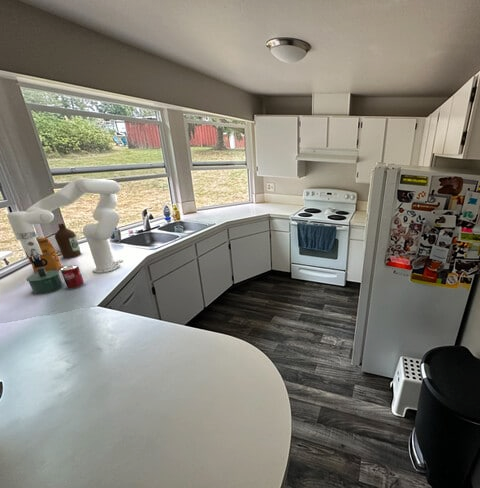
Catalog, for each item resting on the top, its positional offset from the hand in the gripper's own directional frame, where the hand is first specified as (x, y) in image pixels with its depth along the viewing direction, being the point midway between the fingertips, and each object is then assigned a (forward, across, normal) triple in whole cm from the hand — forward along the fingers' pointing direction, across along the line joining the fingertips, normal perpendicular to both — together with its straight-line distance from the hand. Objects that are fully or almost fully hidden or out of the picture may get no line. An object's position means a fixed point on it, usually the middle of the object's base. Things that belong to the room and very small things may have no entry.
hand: (37, 264), depth 137 cm
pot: (+15, 0, 0) cm, 15 cm away
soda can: (+15, -8, -10) cm, 20 cm away
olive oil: (+15, +51, -20) cm, 57 cm away
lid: (+7, 0, 0) cm, 7 cm away
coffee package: (+15, +32, -6) cm, 36 cm away
